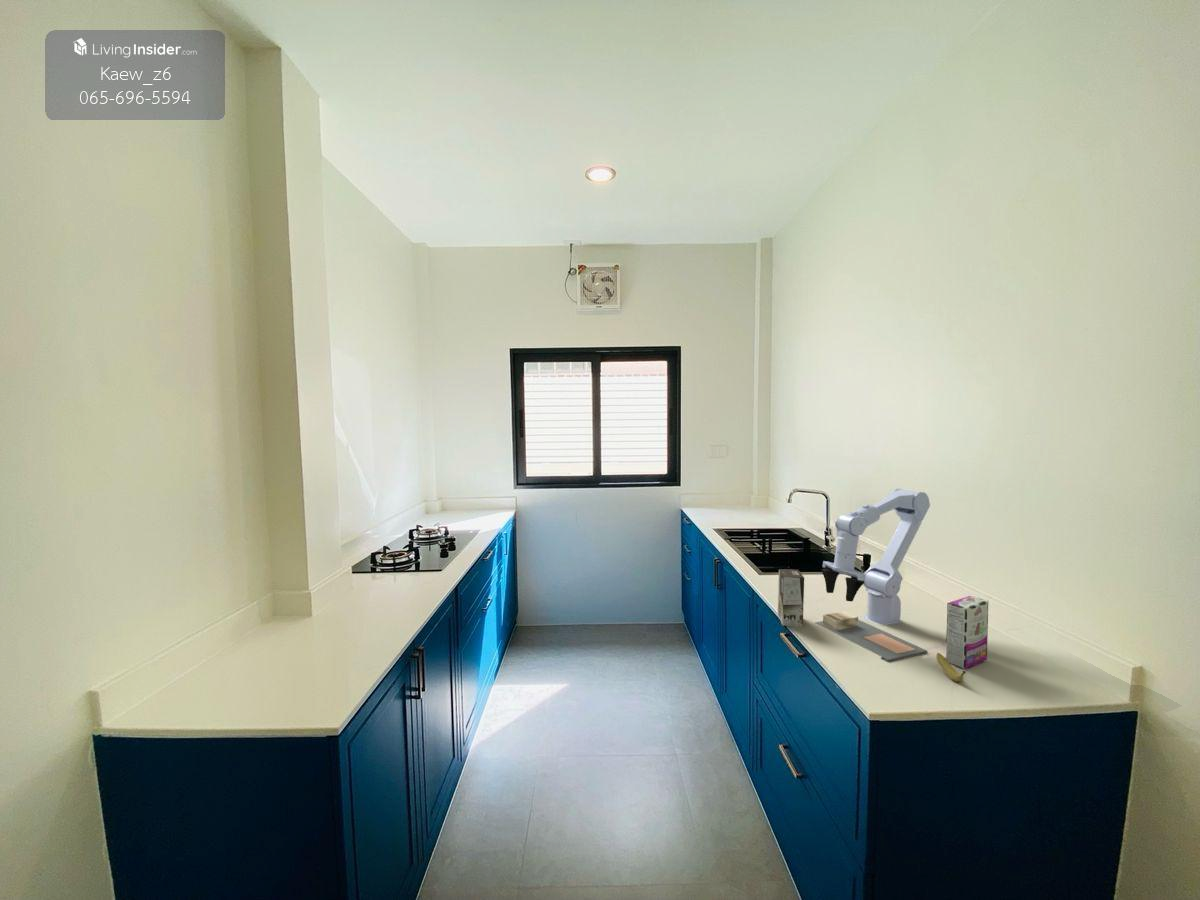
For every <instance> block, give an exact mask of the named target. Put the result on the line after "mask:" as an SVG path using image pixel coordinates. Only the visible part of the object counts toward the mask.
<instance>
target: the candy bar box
mask: <svg viewBox="0 0 1200 900" xmlns="http://www.w3.org/2000/svg"><path fill="white" fill-rule="evenodd" d="M946 604H947V605H946V606H947V610H946V631H947V641H946V653H945V654H946V656H945V658H946V659H947V661H948V662H949V663H950V665H951V666H956V667H958V668H961V669H963V670H967V669H970V668H973V667H974V666H977V665H980V664H981V663H983V662H985V661H988V636H989V635H988V634H989V632H988V631H989V630H988V629H989V600H986V599H983V598H981V597H980V598H979V597H975V596H972V595H968V596H965V597H961V598H959V599H955V600H952V601H949V602H947V603H946Z"/></svg>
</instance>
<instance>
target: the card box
mask: <svg viewBox="0 0 1200 900" xmlns="http://www.w3.org/2000/svg"><path fill="white" fill-rule="evenodd" d="M822 615H823V616H822V621H823V625H825V626H827V627H829V628H831V629H833V630H835V631H836V630H841V629H847V628H852V627H857V626H858V620H859V616H857V615H856V614H855V615H854V614H853V613H850V612H848V611H845V610H844V611H837V612H833V613H826V614H822Z"/></svg>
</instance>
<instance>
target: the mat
mask: <svg viewBox="0 0 1200 900" xmlns="http://www.w3.org/2000/svg"><path fill="white" fill-rule="evenodd" d="M814 624H816V625H818V626H821V627H822V628H824V629H826V630H828V631H830V632H832V633H834V634H836V635H838V636H840V637H842V638H844V639H845V640H848V641H850V642H852V643H854V644H856V645H858V646H859V647H861V648H864V649H865V650H868V651H870V652H871V653H874V654H876V655H878V656H879V657H880V659H881V660H883V661H885V662H887V663H888V662H892V661H897V660H901V659H906V658H911V657H913V656H914V657H916V656H919V655H924V654H927V653H928V650H927V649H924V648H923V647H920V646H918V645H917V644H913V643H911V642H910V641H907V640H904V639H903V638H900V637H898V636H896V635H893V634H892V633H889V632H887V631H885V630H882V629H880V628H878V627H876V626H873V625H871V624H869V623H868V622H864V621H862V620H860V619H858V626H857V627H852V628H847V629H841V630H836V631H835V630H833V629H831V628H829V627H827V626H825V625H823V620H821V621H815V622H814Z"/></svg>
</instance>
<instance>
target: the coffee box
mask: <svg viewBox="0 0 1200 900" xmlns="http://www.w3.org/2000/svg"><path fill="white" fill-rule="evenodd" d="M777 597H778V598H777V599H778V602H777V604H778V605H777V610H778V611H777V616H778V619H779V620H780V623H781V626H786V627H797V628H803V627H804V604H805V603H804V602H805V601H804V598H805V576H803V574H802V573H801V571H800V570H799V569H787V568H784V569H782V568H780V569H778V596H777Z"/></svg>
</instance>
